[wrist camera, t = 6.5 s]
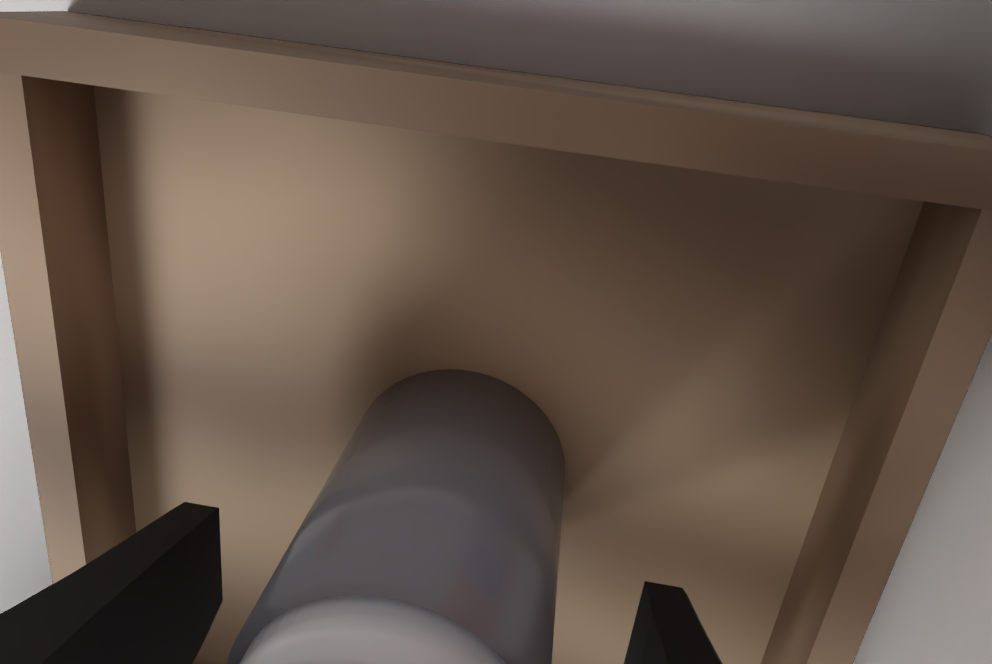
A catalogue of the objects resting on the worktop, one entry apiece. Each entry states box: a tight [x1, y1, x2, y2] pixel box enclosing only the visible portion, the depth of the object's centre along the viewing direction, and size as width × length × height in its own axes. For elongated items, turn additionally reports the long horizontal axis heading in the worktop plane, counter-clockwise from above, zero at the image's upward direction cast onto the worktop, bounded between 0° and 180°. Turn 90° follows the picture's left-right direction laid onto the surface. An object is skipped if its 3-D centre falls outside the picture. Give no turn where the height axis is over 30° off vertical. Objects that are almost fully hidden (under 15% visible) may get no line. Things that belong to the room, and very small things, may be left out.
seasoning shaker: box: [227, 369, 565, 664], centre depth 12 cm, size 4×4×7 cm
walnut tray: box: [0, 11, 992, 664], centre depth 15 cm, size 16×16×2 cm
